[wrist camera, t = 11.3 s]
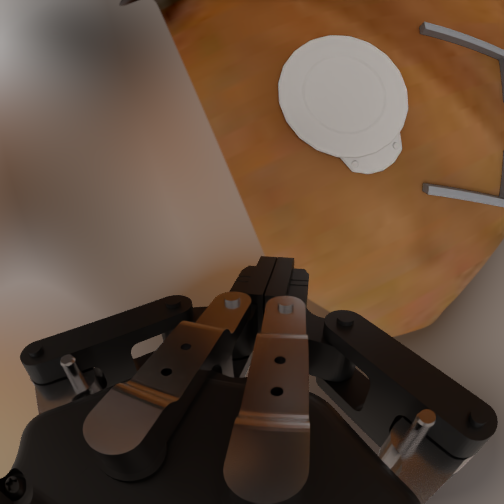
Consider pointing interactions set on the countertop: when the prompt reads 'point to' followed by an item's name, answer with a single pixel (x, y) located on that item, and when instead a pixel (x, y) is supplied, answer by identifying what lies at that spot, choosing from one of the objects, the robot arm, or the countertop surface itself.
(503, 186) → the lid holder
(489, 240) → the countertop surface
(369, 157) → the lid
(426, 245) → the countertop surface
